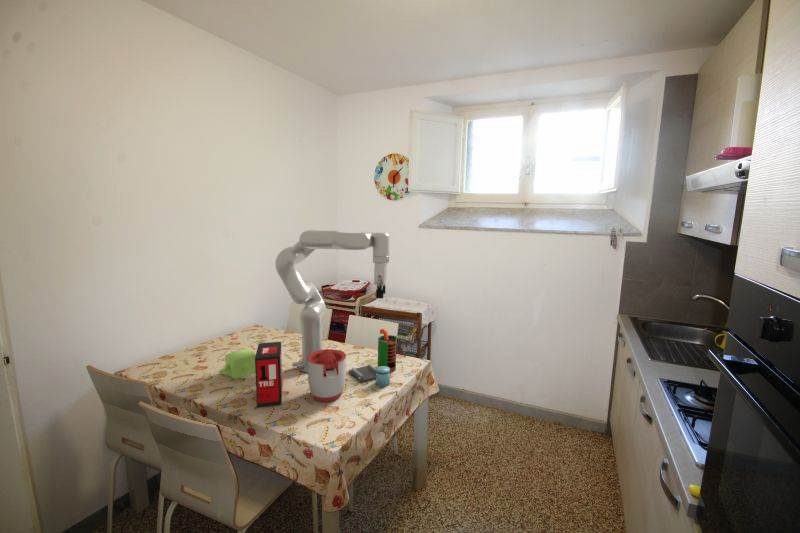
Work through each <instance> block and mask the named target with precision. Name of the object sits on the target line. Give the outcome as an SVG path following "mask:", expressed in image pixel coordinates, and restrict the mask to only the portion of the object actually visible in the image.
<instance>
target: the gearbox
mask: <svg viewBox="0 0 800 533" xmlns="http://www.w3.org/2000/svg"><path fill="white" fill-rule="evenodd" d="M255 356H256V353H255V352H253V351H252V350H251V349H249V348H245V349H242V350H241V349H240V350H237V351H233V352H231V353H228V354H225V355H224V357H225V359H224V360H225V366H224V367H223V368H221V370H220V371H219V372H220V374H223V375H224V374H225V373H226V374H227V375H228V376H229V377H231V378H232V379H233V380H236V379H240V378H242V376H243V377H245V376H249V375H251V374H255V373H256V372H255Z"/></svg>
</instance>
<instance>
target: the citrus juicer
mask: <svg viewBox="0 0 800 533" xmlns="http://www.w3.org/2000/svg"><path fill="white" fill-rule="evenodd" d="M346 358H347V354H346V352H344V351H342V350H339V349H332V348H326V349H322V350H319V351H315V352H313V353H311V354H309V355H308V357H307V360H308V373H307V378H308V379H307V380H308V386H309V390H310V393H311V396H312V398H313V399H314V400H316V401H318V402H332V401H335V400H337V399H339V398H340V397H341V395H342V394H343V391H344V388H345V382H346V375H347V374H346V373H347V372H346Z"/></svg>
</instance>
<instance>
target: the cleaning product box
mask: <svg viewBox="0 0 800 533" xmlns="http://www.w3.org/2000/svg"><path fill="white" fill-rule="evenodd" d="M255 355H256V356H255V372H254V373H255V389H256V390H255V392H256V408H257V409H261V408H266V407H267V408H268V407H275V406H282V399H283V363H282V362H283V361H282V341H271V342H260V343H258V344H257V349H256V353H255Z"/></svg>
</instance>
